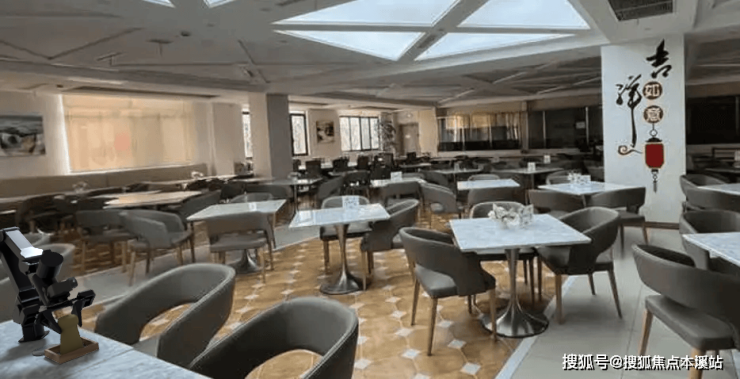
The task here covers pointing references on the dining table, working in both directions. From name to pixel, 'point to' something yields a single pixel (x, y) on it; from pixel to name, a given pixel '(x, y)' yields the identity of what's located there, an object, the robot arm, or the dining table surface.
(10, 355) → the dining table surface
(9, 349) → the dining table surface
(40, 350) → the grey round disc
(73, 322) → the cork
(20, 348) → the dining table surface
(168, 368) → the dining table surface
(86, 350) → the frame
